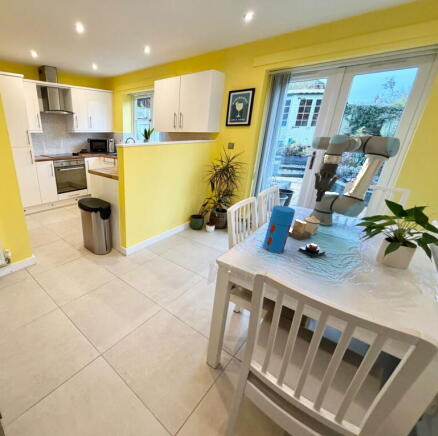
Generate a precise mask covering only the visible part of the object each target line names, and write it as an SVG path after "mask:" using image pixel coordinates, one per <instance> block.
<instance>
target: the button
mask: <svg viewBox="0 0 438 436" xmlns="http://www.w3.org/2000/svg"><path fill="white" fill-rule="evenodd" d="M309 244H310V246H309V247H311V248H314V249H317V247H319V245H318V244H317V243H314V242H312V243H309Z"/></svg>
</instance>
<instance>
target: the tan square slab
mask: <svg viewBox="0 0 438 436" xmlns="http://www.w3.org/2000/svg"><path fill="white" fill-rule="evenodd" d="M306 226H307V223H305V222H304V221H302V220H299V219H294V222H293V225H292V228H293V230H295V231H297V232H299V233H301V234H303V233H304V232H305V229H306Z"/></svg>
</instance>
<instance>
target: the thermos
mask: <svg viewBox="0 0 438 436" xmlns="http://www.w3.org/2000/svg"><path fill="white" fill-rule="evenodd" d="M295 213H296V210H295V208H292V207H290V206H286V205H280V204H279V205H277V204H276V205H273V207H272V209H271V213H270V217H269V222H268V225H267V229H266V233H265V237H264V240H263V246H262V247H263V248H264V250H266V251H268V252H271V253H276V254H281V253H283V252H284V249H285V247H286V244H287V240H288V237H289V236H288V234H289V231H290V229H291V228H292V224H293V220H294V217H295Z"/></svg>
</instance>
